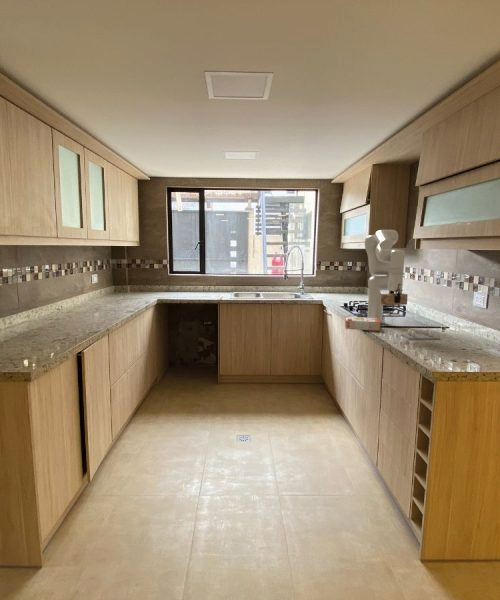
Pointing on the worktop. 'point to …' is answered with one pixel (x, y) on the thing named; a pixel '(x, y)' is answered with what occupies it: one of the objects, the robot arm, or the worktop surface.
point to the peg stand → (420, 335)
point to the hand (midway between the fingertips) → (394, 301)
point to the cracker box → (362, 323)
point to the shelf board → (393, 299)
